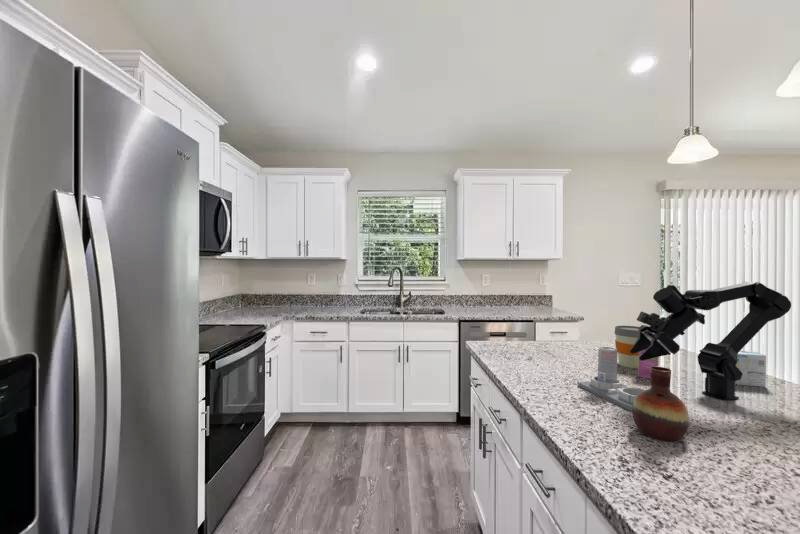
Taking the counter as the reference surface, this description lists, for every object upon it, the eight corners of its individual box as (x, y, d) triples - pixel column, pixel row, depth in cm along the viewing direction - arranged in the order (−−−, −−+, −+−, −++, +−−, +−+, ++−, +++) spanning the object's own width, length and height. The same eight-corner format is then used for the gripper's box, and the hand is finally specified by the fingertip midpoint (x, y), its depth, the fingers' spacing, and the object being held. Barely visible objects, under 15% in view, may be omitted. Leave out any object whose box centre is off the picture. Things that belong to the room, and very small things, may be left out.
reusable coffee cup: (606, 363, 156) (607, 326, 156) (627, 360, 161) (627, 324, 161) (637, 371, 144) (637, 331, 144) (657, 367, 150) (658, 329, 150)
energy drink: (612, 383, 124) (612, 347, 124) (619, 389, 119) (620, 350, 119) (594, 383, 124) (595, 346, 124) (601, 388, 119) (602, 350, 119)
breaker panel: (671, 408, 106) (671, 397, 106) (631, 411, 104) (631, 399, 104) (612, 384, 128) (612, 374, 128) (577, 385, 125) (578, 376, 125)
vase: (635, 420, 98) (636, 360, 98) (689, 432, 91) (691, 368, 91) (628, 434, 89) (629, 368, 89) (687, 449, 82) (689, 378, 82)
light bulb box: (754, 381, 133) (754, 350, 133) (766, 387, 127) (767, 355, 127) (717, 378, 136) (718, 348, 136) (728, 384, 130) (729, 352, 130)
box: (657, 380, 133) (657, 346, 133) (637, 377, 137) (638, 344, 137) (659, 373, 141) (659, 341, 141) (640, 370, 145) (641, 339, 145)
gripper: (645, 300, 127) (607, 331, 130) (667, 306, 109) (623, 342, 112) (672, 325, 124) (633, 356, 128) (699, 335, 107) (653, 371, 110)
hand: (635, 356), depth 119 cm, fingers open, 9 cm apart
